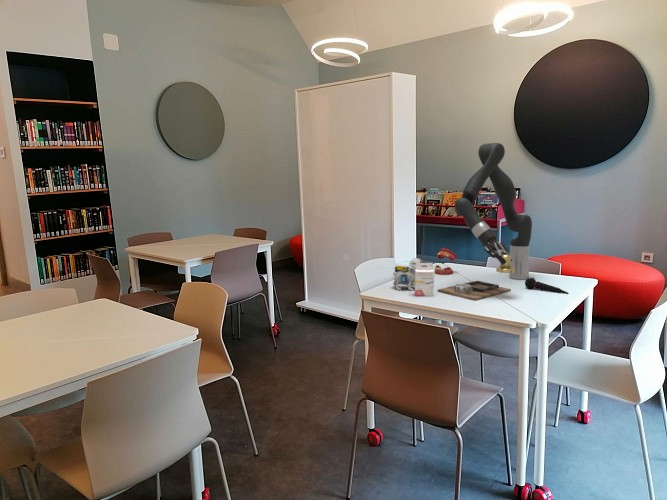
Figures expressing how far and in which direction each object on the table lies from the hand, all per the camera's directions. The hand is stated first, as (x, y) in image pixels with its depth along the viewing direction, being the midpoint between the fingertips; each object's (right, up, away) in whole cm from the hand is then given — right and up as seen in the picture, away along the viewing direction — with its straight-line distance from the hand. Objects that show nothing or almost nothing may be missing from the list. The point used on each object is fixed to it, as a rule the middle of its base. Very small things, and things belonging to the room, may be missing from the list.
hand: (507, 262), depth 220 cm
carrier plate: (-11, -14, +15) cm, 23 cm away
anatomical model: (-15, -8, +56) cm, 59 cm away
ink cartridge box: (-35, -16, +11) cm, 40 cm away
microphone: (+22, -14, +12) cm, 29 cm away
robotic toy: (-40, -14, +24) cm, 49 cm away
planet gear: (-1, -4, +1) cm, 4 cm away
